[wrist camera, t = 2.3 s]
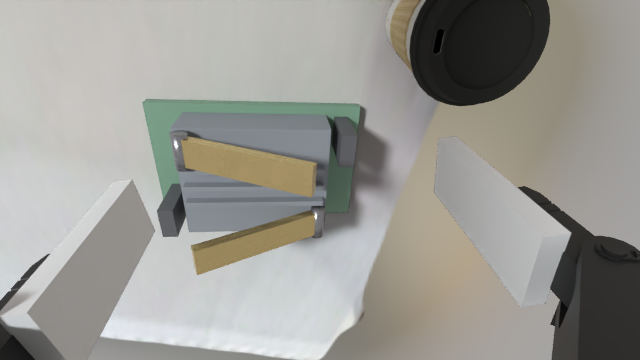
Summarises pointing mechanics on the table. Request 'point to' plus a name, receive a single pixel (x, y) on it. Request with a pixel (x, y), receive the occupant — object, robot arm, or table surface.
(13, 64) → the table surface
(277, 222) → the strap
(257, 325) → the table surface
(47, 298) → the robot arm
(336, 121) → the heatsink module
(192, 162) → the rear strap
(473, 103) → the coffee cup
